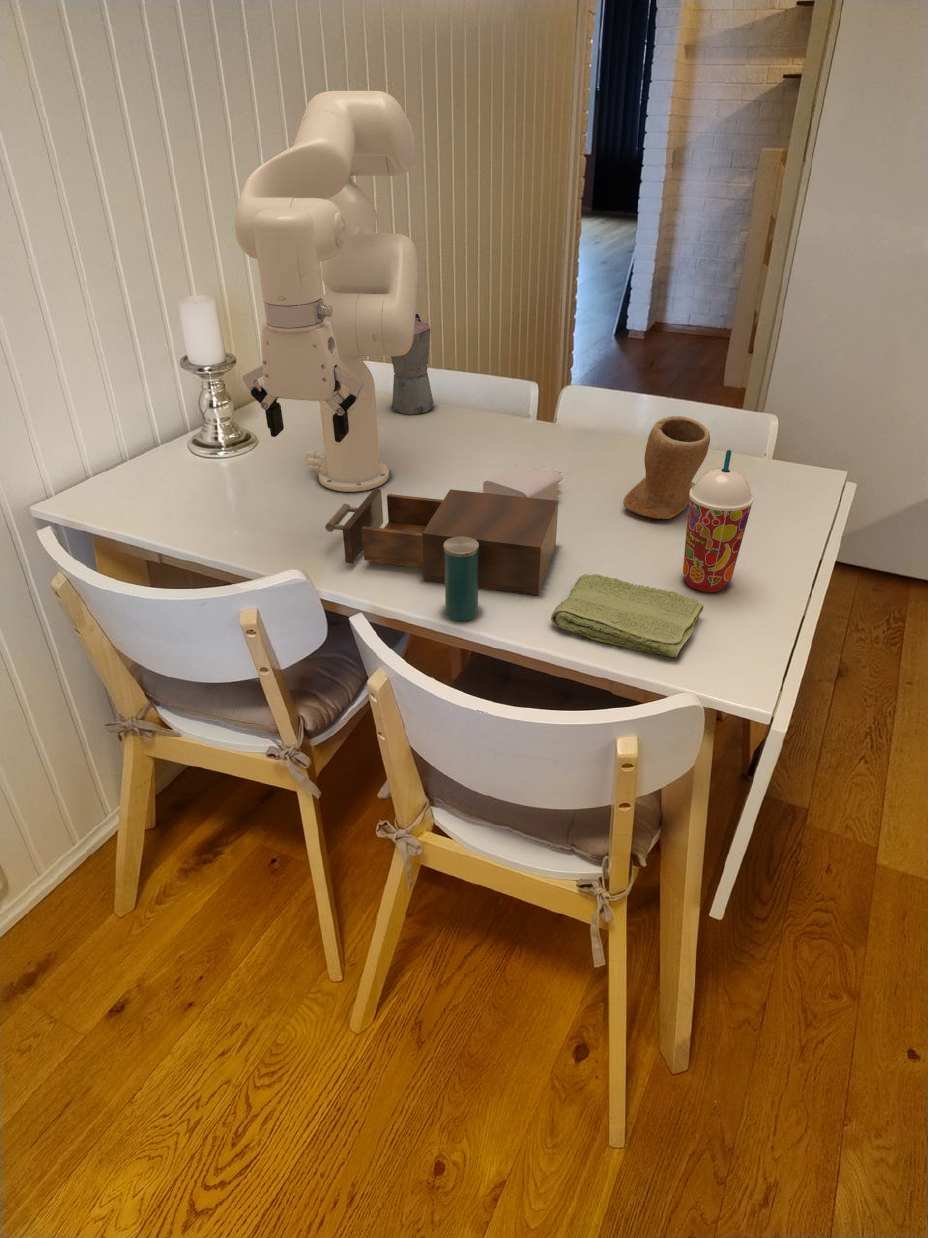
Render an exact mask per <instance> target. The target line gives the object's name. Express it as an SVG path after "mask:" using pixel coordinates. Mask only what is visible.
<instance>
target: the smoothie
mask: <svg viewBox="0 0 928 1238" xmlns="http://www.w3.org/2000/svg"><path fill="white" fill-rule="evenodd" d="M731 457H732V450H731V449H727V450H726V452H725V457H724V462H723V467H719V468H714V469H711V470H708V471H707V472H704V473H703V475H701V476H700V477H699V478H698V480H697V481H696V482H695V485H694V486H693V487H692V488H691V489H690V491H689V504H688V506H687V507H688V508H687V519H686V531H685V541H684V542H685V543H684V553H683V564H682V565H683V566H682V574H683V576H684V578H685V583H686V584H687V585H688V586H689V587H690V588H692V589H695V590H697V591H700V592H704V593H715V592H720V591H722V590H724V589H725V588H726V586H727V585H728V584H729V583H730V582H731V580H732V579H733V575H734V572H735V567H736V564H737V561H738V557H739V553H740V550H741V546H742V543H743V539H744V535H745V533H746V529H747V524H748V520H749V517H750V513H751V510H752V505H753V503H754V500H755V499H754V495H753V494H752V492H751V488H750V485H749V483H748V481H747V480H746V479H745V477H744V476H743V475H742V474H741V473H740V472H739V471H736V470H734V469H731V468H730V462H731Z"/></svg>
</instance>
